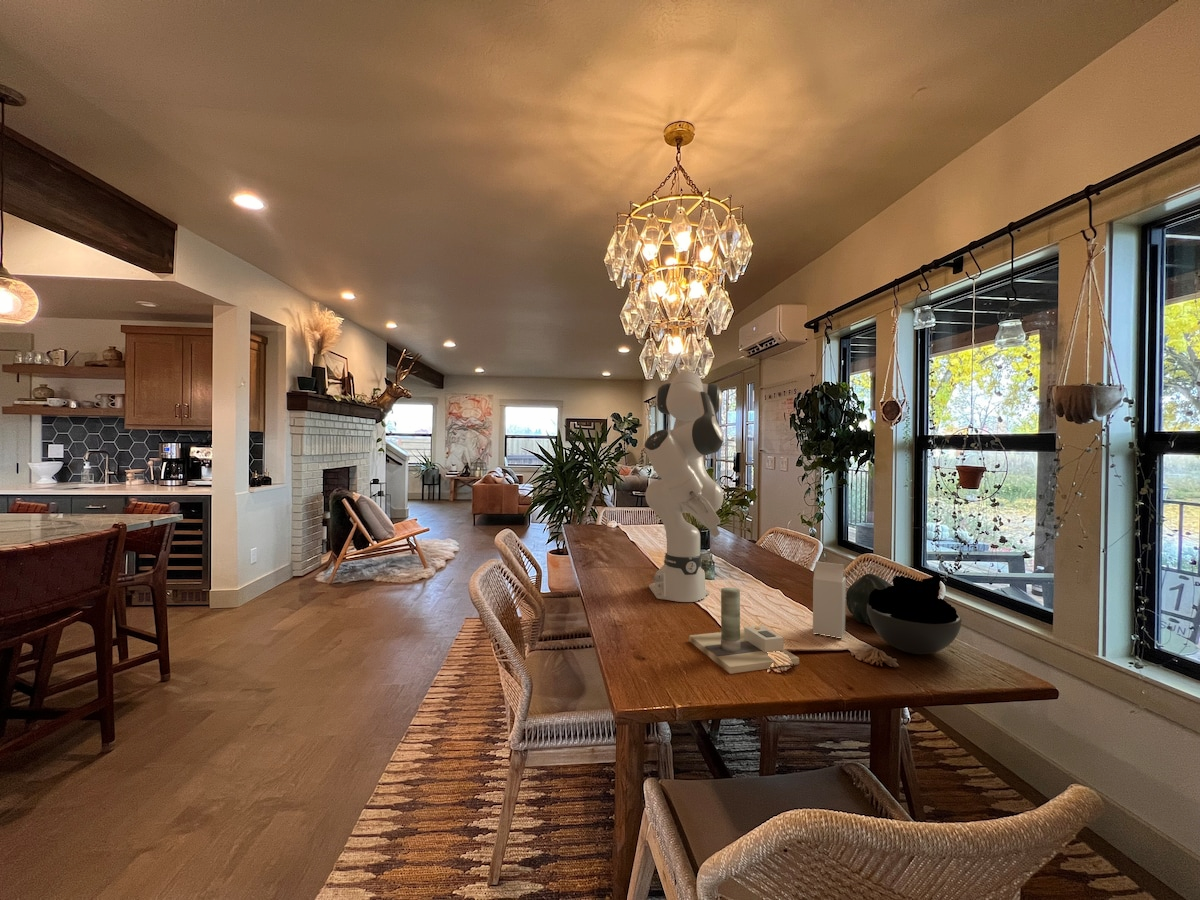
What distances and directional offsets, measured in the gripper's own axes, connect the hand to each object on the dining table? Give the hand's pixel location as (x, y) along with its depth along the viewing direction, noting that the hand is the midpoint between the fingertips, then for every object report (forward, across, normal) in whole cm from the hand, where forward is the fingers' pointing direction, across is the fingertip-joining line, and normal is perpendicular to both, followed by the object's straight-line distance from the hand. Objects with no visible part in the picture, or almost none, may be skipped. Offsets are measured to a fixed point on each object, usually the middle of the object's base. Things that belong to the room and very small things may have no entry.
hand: (709, 528), depth 140 cm
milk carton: (+40, -11, -12) cm, 43 cm away
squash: (+52, -5, -26) cm, 58 cm away
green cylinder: (+19, -19, +14) cm, 30 cm away
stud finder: (+24, -18, +6) cm, 31 cm away
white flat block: (+23, -18, +12) cm, 31 cm away
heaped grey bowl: (+45, -25, -23) cm, 57 cm away
